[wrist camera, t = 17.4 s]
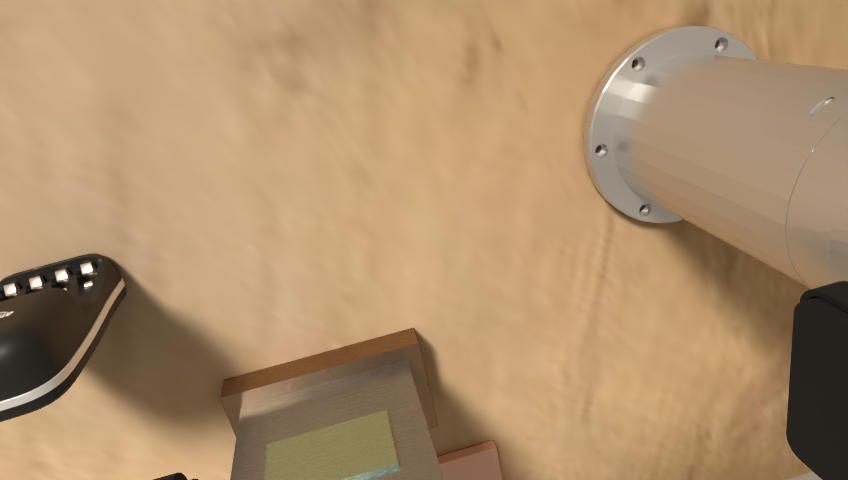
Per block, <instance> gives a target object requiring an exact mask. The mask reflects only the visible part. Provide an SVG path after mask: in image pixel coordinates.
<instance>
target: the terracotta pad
mask: <svg viewBox="0 0 848 480" xmlns="http://www.w3.org/2000/svg"><path fill="white" fill-rule="evenodd" d="M437 458H438V461H439V465H440V468H441V471H442V474H443V478H444V480H502V475H501V469H500V464H499V459H498V453H497V448H496V445H495V443H494V441H493V440H492V441H489V442H485V443H482V444H479V445H475V446H472V447H469V448H465V449H462V450H459V451H455V452H452V453H449V454H445V455H442V456H439V457H437Z"/></svg>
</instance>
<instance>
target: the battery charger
mask: <svg viewBox="0 0 848 480" xmlns="http://www.w3.org/2000/svg"><path fill="white" fill-rule="evenodd" d="M125 295H126V288H125V282H124V280H123V279H122V278H120V276H119V274H118V272H117V270H116V268H115V267H114V266H113V265H112V263H111V262H110V261H109V260H108V259H107V258H105V257H104V256H102V255H99V254H87V255H82V256H78V257H74V258H70V259H67V260H63V261H59V262H55V263H52V264H48V265H44V266H41V267H37V268H33V269H30V270H26V271H23V272H19V273H16V274H13V275H10V276H8V277H6V278H4V279H3V280H2V281H1V282H0V422H2V421H5V420H8V419H11V418H15V417H18V416H21V415H24V414H28V413H30V412H33V411H36V410H39V409H41V408H43V407H45V406H47V405H49V404H51V403H52V402H54V401H55V400H57V399H58V398H60V397H61V396H62V395H63V394H64V393H65V392H66V391H67V390H68V389H69V388H70V387H71V386H72V384H73V383H74V382H75V381H76V379H77V377H78V376H79V374H80V373H81V371H82V370H83V368H84V367H85V365H86V364H87V362H88V360H89V359H90V357H91V355H92V354H93V352H94V350H95V348H96V347H97V345H98V343H99V341H100V339H101V337H102V335H103V333H104V332H105V330H106V328H107V326H108V324H109V321H110V319H111V318H112V316H113V314H114V312H115V311H116V309H117V308H118V306H119V304H120V303H121V301H122V300H123V298H124V297H125Z"/></svg>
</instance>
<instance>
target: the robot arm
mask: <svg viewBox="0 0 848 480" xmlns="http://www.w3.org/2000/svg"><path fill="white" fill-rule="evenodd" d="M633 60H634V65H633V66H632V62H633ZM583 141H584V157H585V161H586V165H587V170H588V173H589V175H590V177H591V179H592V181H593V184H594V186H595V187H596V189H597V190H598V191H599V193H600V194H601V195H602V196H603V198H604V199H605V200H606V201H607V202H609V203H610V204H611V205H612V206H614V207H615V208H616V209H618V210H619V211H621V212H623V213H624V214H626V215H628V216H629V217H632V218H635V219H637V220H640V221H644V222H652V223H670V222H677V221H681V220H686V221H688V222H690V223H692V224H694V225H696V226H697V227H699V228H701V229H703V230H705V231H706V232H708V233H710V234H712V235H714V236H716V237H717V238H719V239H721V240H723V241H725V242H727V243H728V244H730V245H732V246H734V247H736V248H737V249H739V250H741V251H743V252H745V253H747V254H748V255H750V256H752V257H754V258H756V259H758V260H759V261H761V262H763V263H765V264H767V265H768V266H770V267H772V268H774V269H776V270H778V271H779V272H781V273H783V274H785V275H787V276H789V277H790V278H792V279H794V280H796V281H798V282H799V283H801V284H803V285H805V286H807V287H809V288H810V289H811V290H808V291H806V292H804V294H803V295H802V296H801V299H800V303H798V304H797V305H796V307H795V310H794V320H793V336H792V351H791V367H790V383H789V398H788V414H787V430H786V435H787V440H788V443H789V445H790V447H791V449H792V451H793V452H794V454H795V455H796V456H797V457H798V458H799V459H800V460H801V461H802V462H803V463H804V464H805V465H807V466H808V467H809V468H810V469H811V470H812V471H813V472H814V473H815V474H817V475H818V476H819V477H820V478H821V479H822V480H848V70H843V69H834V68H825V67H816V66H807V65H798V64H790V63H781V62H772V61H763V60H758V59H757V57H756V55H755V54H754V53H753V52H752V51H751V50H750V48H749V47H748V46H747V45H746V44H745V43H744V42H743V41H741V40H740V39H738V38H737V37H735V36H734V35H732V34H731V33H728V32H725V31H723V30H720V29H717V28H713V27H704V26H678V27H674V28H670V29H665V30H662V31H659V32H657V33H655V34H653V35H651V36H648V37H646V38H644V39H643V40H641V41H640V42H638V43H637V44H635V45H634V46H633V47H631V48H630V49H628V50H627V51H626V52H625V53H624V54H623V55H622V56H621V57H620V58H619V59H618V60H617V61H616V62H615V63H614V64H613V65H612V67H611V68H610V69H609V71H608V72H607V73H606V75H605V76H604V78H603V79H602V80H601V82H600V84H599V86H598V88H597V90H596V92H595V94H594V96H593V98H592V100H591V104H590V107H589V110H588V113H587V116H586V121H585V128H584V136H583ZM597 146H598V150H597V151H595V150H596V148H597ZM154 480H187V478H186V477H185V476H184V475H183V474H182V473H175V474H171V475H168V476H164V477H161V478H157V479H154ZM192 480H198V479H192Z"/></svg>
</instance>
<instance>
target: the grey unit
mask: <svg viewBox="0 0 848 480" xmlns="http://www.w3.org/2000/svg"><path fill="white" fill-rule="evenodd" d="M220 399H221V401H222V404H223V406H224V409H225V411H226V413H227V416H228V418H229V421H230V423H231V426H232V428H233V431H234V433H235V435H236V444H235V451H234V458H233V465H232V472H231V479H230V480H444V478H443V474H442V471H441V468H440V465H439V461H438V458H437V455H436V452H435V448H434V445H433V442H432V439H431V435H430V432H429V429H430V428H433V427H437V426H438V423H437V419H436V415H435V410H434V406H433V402H432V397H431V393H430V389H429V385H428V380H427V376H426V372H425V367H424V363H423V359H422V355H421V350H420V346H419V342H418V339H417V337H416V334H415V331H414V328H411V329H408V330H404V331H400V332H397V333H393V334H389V335H386V336H382V337H378V338H375V339H371V340H368V341H364V342H360V343H357V344H353V345H349V346H346V347H342V348H339V349H335V350H331V351H328V352H324V353H320V354H317V355H313V356H309V357H306V358H302V359H299V360H295V361H291V362H288V363H284V364H280V365H277V366H273V367H269V368H266V369H262V370H259V371H255V372H251V373H248V374H244V375H240V376H237V377H233V378H230V379H226V380H224V382H223V387H222V392H221V397H220Z"/></svg>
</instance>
